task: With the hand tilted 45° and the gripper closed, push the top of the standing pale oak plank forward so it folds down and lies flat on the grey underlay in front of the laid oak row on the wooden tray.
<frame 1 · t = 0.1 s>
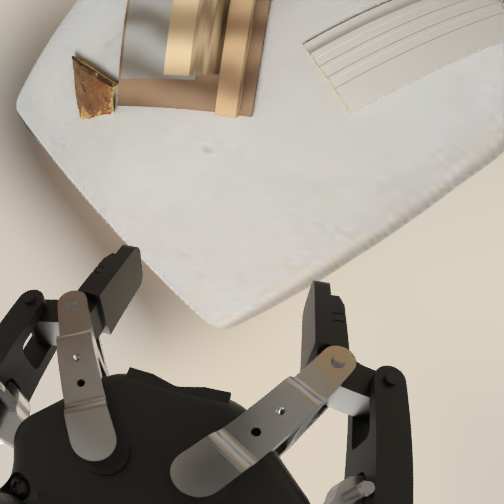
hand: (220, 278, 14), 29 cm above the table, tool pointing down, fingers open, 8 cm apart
shard: (92, 92, 37), on the table
oak plank: (216, 22, 30), point 1 cm above the table, touching wooden tray
baseboard molding: (419, 26, 27), on the table
wooden tray: (191, 22, 30), on the table
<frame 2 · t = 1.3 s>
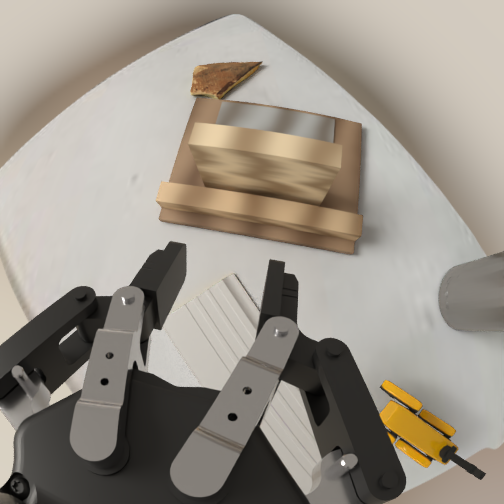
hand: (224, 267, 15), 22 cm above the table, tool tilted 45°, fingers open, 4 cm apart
shard: (219, 77, 43), on the table
oak plank: (263, 188, 38), point 1 cm above the table, touching wooden tray
baseboard molding: (274, 399, 34), on the table
robot dog: (404, 423, 33), on the table
wooden tray: (267, 167, 39), on the table
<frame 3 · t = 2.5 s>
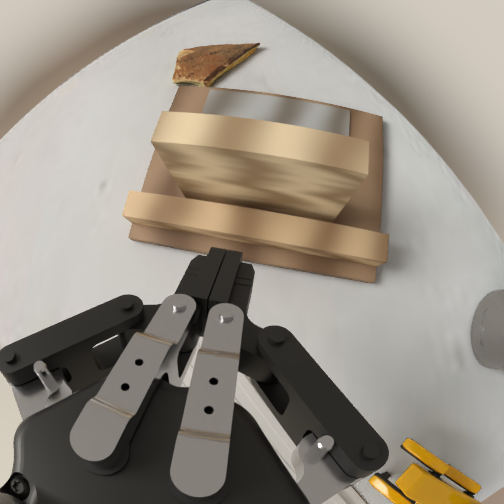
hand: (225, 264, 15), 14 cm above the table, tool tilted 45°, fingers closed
shard: (209, 63, 35), on the table
oak plank: (260, 198, 29), point 1 cm above the table, touching wooden tray
baseboard molding: (271, 456, 26), on the table
robot dog: (421, 474, 24), on the table
wooden tray: (266, 170, 31), on the table
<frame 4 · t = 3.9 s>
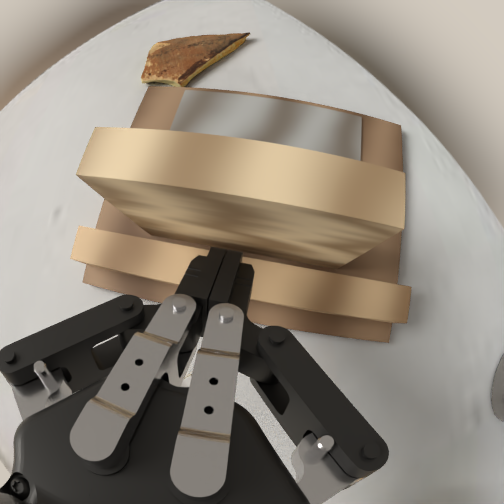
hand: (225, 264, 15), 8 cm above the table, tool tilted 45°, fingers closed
shard: (187, 57, 28), on the table
oak plank: (244, 235, 23), point 1 cm above the table, touching wooden tray
wooden tray: (253, 195, 24), on the table
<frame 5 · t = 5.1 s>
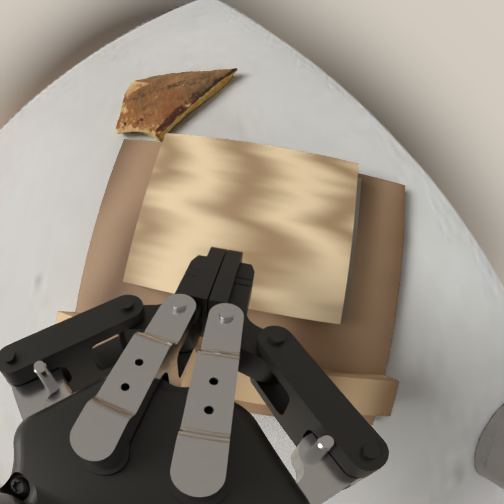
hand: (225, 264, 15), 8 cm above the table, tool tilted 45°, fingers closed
shard: (168, 98, 27), on the table
oak plank: (229, 305, 20), point 2 cm above the table, tilted 90°, touching wooden tray
wooden tray: (237, 276, 23), on the table
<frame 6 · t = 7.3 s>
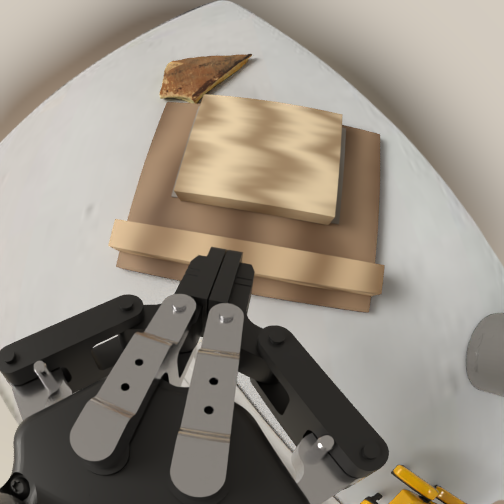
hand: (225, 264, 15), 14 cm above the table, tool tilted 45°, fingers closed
shard: (198, 75, 34), on the table
oak plank: (253, 207, 27), point 2 cm above the table, tilted 90°, touching wooden tray
baseboard molding: (261, 479, 25), on the table
robot dog: (413, 494, 23), on the table
wooden tray: (257, 194, 30), on the table
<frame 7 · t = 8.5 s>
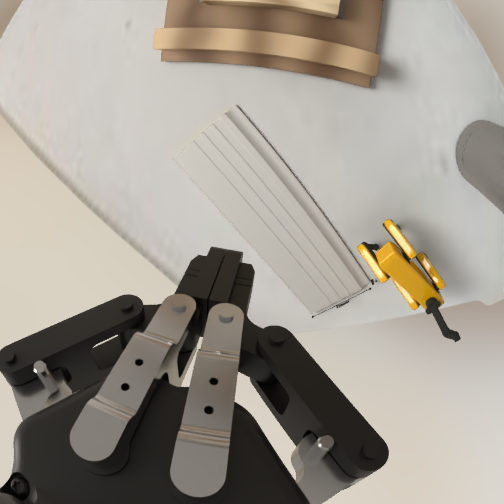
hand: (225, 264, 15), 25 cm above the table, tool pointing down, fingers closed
oak plank: (269, 5, 24), point 2 cm above the table, tilted 90°, touching wooden tray
baseboard molding: (285, 217, 41), on the table
robot dog: (406, 255, 41), on the table
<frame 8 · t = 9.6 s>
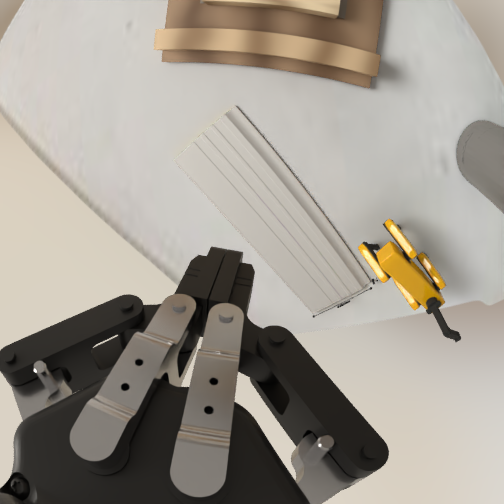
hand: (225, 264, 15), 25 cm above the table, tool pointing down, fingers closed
oak plank: (269, 6, 24), point 2 cm above the table, tilted 90°, touching wooden tray
baseboard molding: (286, 217, 42), on the table
robot dog: (406, 255, 41), on the table
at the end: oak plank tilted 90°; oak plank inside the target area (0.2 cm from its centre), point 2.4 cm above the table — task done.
